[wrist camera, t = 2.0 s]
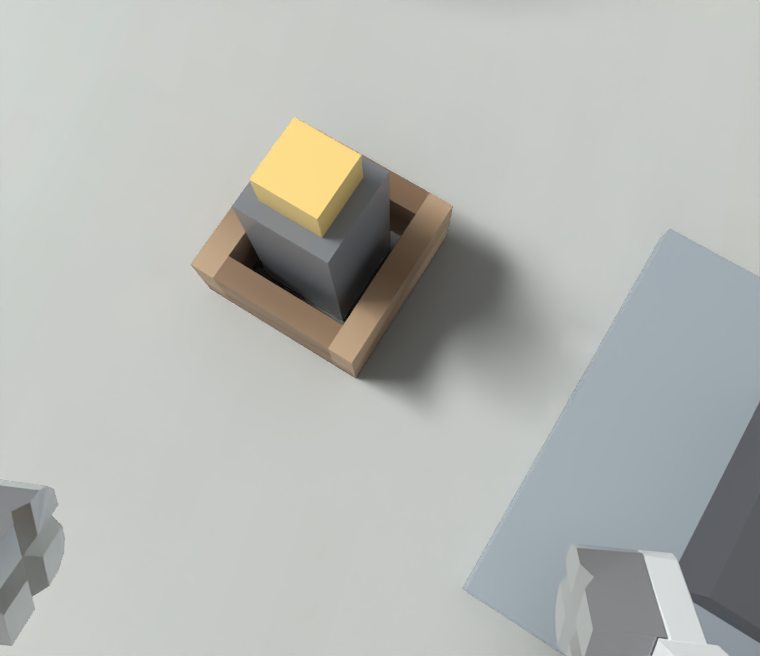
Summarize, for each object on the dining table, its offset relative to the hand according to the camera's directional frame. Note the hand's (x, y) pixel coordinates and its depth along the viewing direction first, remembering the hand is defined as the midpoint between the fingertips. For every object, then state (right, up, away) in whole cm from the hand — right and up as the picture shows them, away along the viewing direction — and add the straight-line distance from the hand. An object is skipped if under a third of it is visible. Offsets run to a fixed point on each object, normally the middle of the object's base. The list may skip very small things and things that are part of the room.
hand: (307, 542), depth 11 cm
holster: (-1, +6, +18) cm, 19 cm away
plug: (-1, +6, +18) cm, 19 cm away
